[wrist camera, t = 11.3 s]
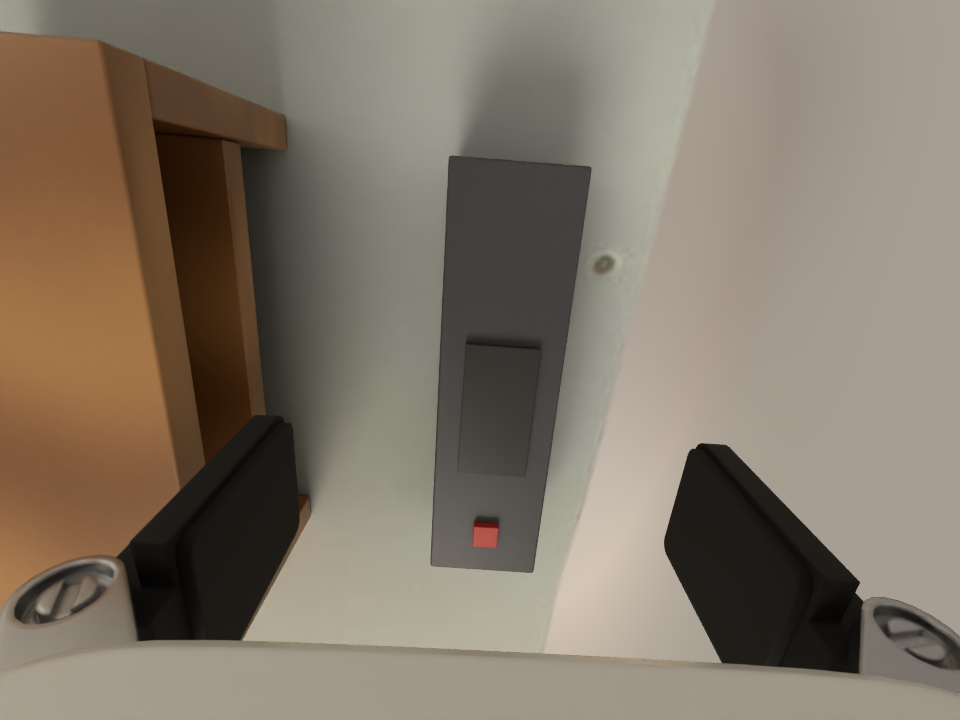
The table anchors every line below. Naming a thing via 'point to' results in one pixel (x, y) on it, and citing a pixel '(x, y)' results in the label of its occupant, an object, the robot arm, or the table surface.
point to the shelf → (117, 294)
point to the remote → (502, 354)
